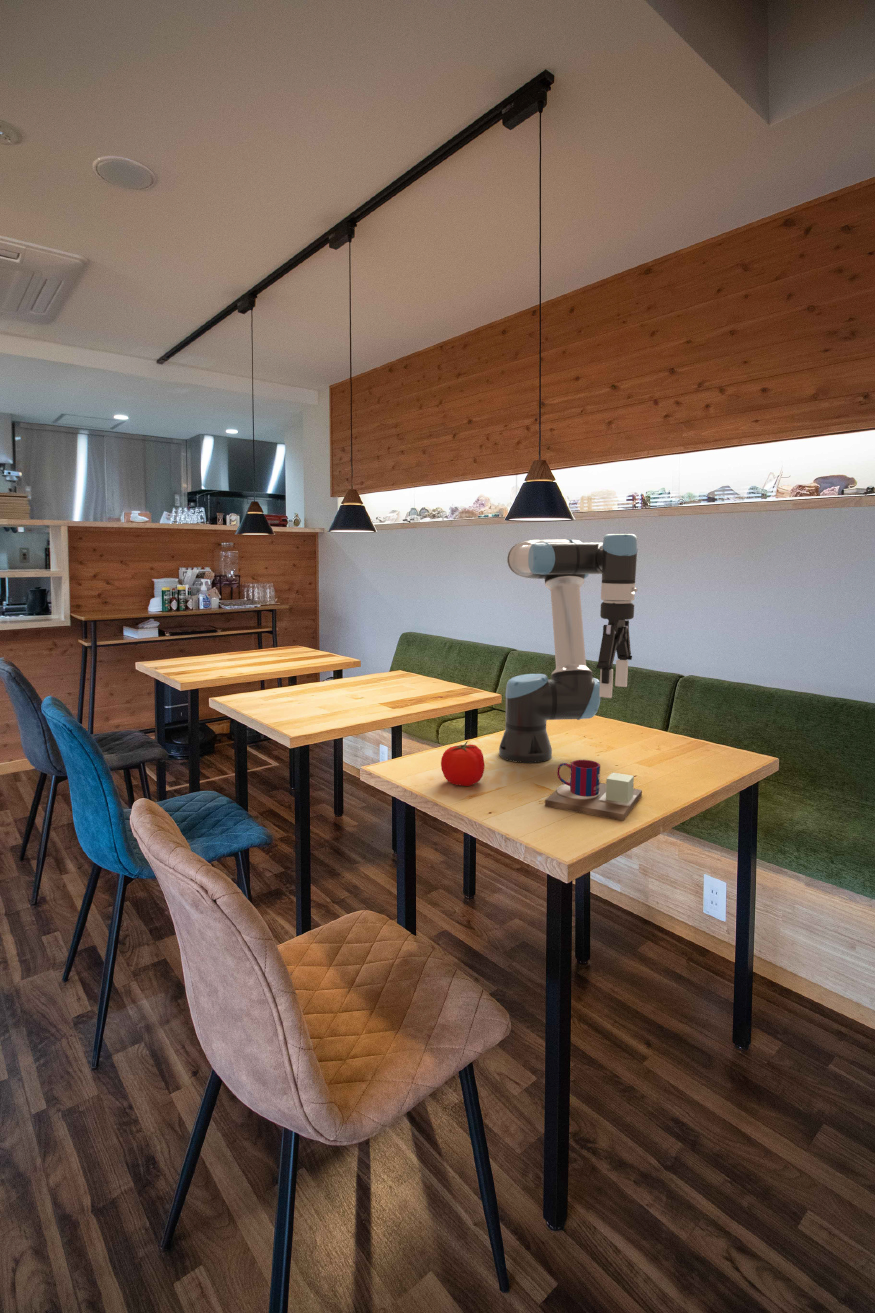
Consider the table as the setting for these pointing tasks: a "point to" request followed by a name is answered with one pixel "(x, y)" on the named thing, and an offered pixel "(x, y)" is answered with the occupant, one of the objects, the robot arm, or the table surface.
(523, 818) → the table surface
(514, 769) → the table surface
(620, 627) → the robot arm
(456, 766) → the tomato
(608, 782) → the pale sage green cube
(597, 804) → the board
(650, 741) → the table surface
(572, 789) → the mug
